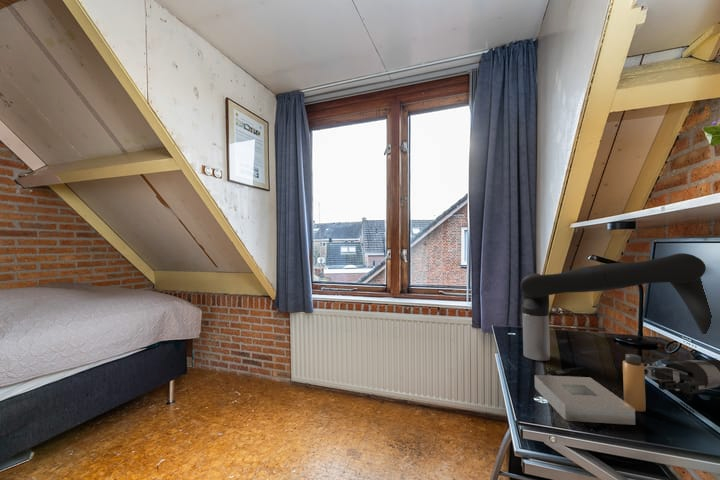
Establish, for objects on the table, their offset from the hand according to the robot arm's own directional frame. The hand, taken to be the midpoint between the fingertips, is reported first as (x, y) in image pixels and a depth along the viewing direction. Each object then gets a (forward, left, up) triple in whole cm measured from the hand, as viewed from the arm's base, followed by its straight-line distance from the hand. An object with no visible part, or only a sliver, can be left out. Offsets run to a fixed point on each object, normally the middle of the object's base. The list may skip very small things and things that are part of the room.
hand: (642, 378), depth 83 cm
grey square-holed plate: (+1, -17, -8) cm, 19 cm away
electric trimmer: (-18, -11, -8) cm, 22 cm away
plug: (+1, -3, -8) cm, 8 cm away
